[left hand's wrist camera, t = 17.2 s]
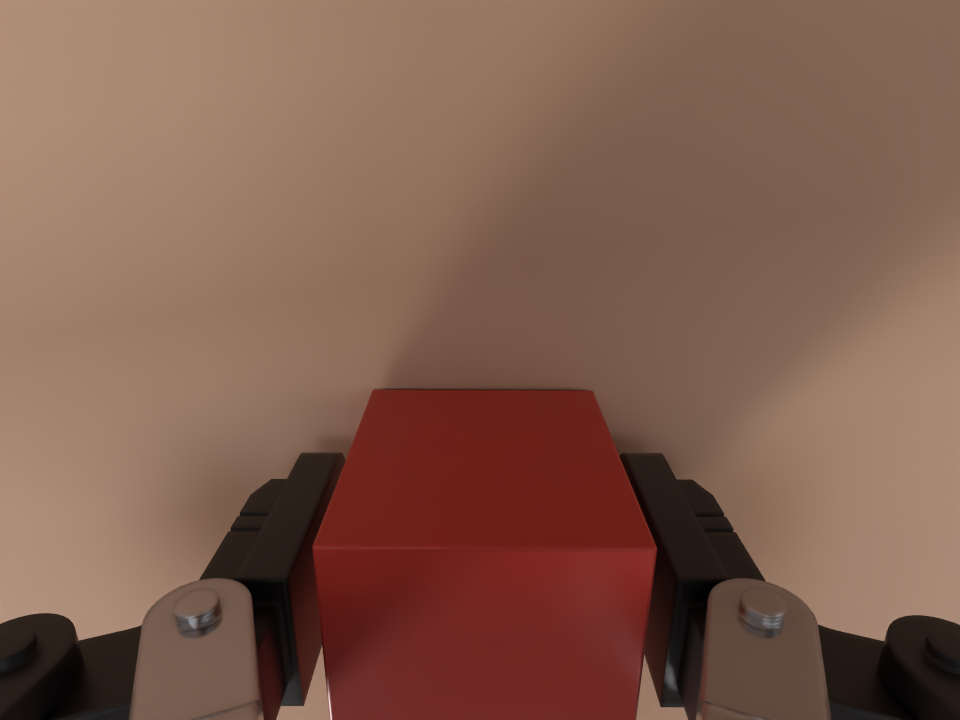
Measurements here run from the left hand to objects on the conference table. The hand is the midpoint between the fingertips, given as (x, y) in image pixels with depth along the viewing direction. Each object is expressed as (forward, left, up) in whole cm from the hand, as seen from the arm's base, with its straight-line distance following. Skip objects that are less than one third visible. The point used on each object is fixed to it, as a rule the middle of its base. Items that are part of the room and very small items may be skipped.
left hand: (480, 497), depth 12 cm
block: (0, 0, -1) cm, 1 cm away
